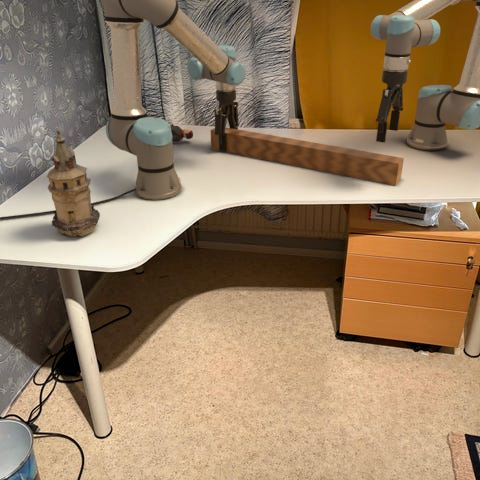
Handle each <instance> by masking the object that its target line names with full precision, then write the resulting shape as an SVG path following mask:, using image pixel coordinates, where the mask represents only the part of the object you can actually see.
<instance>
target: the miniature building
mask: <svg viewBox="0 0 480 480" xmlns="http://www.w3.org/2000/svg"><path fill="white" fill-rule="evenodd" d="M56 134H57V136H56V138H55V140H54V141H55V142H56V147H55V154H54V156H52V157H51V161H52V162H53V165H54V167H53V168H51V169H50V170H49V171H48V173H47V174H46V178H47V179H48V182H49V184H48V186H47V190H48V191H49V193H50V194H51V200H52V201H53V205H54V210H56V211H55V212H54V213H53V217H52V220H51V223H52V225H51V227H54V228H56V229H58V230H59V231H60V234H63V235H64V234H65V235H66V236H69V237H77V236H80V237H83V236H87V235H88V234H90V233H93V232H94V231H95V229H96V226H97V225H98V223H99V220H100V216H101V213H100V212H99V210H98V209H96V208H95V205H94V204H93V205H91V203H92V201H91V200H92V199H91V198H92V197H91V192H92V191H91V188H90V184H91V178H89V177H88V174H87V167H85V166H84V165H83V166H82V165H80V164H77V160H76V154H75V151H74V150H70V149H69V147H68V145H67V143H66V138H65V137H64V136H63V135H61V130H60V129H56Z"/></svg>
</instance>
